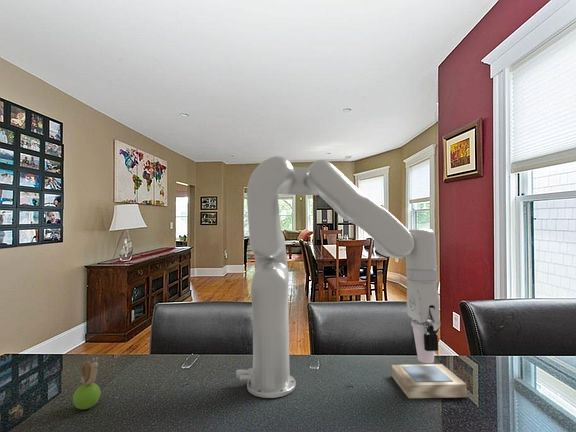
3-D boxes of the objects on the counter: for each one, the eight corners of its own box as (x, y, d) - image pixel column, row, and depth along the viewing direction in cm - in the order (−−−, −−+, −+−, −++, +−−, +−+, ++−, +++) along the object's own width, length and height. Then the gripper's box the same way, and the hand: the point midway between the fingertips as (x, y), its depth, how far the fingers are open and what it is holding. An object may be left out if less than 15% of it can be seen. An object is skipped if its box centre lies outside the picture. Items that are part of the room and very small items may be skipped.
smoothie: (442, 366, 77) (439, 308, 78) (415, 364, 79) (412, 307, 80) (435, 356, 84) (433, 303, 85) (410, 355, 85) (408, 302, 86)
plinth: (408, 398, 75) (408, 384, 75) (391, 376, 87) (391, 364, 87) (467, 397, 75) (466, 383, 75) (442, 375, 87) (441, 363, 87)
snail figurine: (81, 418, 68) (83, 361, 69) (67, 410, 72) (69, 356, 73) (107, 406, 73) (108, 353, 74) (92, 399, 76) (94, 349, 77)
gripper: (396, 272, 91) (398, 335, 90) (421, 280, 74) (425, 358, 73) (421, 271, 91) (424, 335, 90) (453, 280, 74) (457, 358, 73)
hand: (425, 345), depth 81 cm, fingers closed on smoothie, 6 cm apart
